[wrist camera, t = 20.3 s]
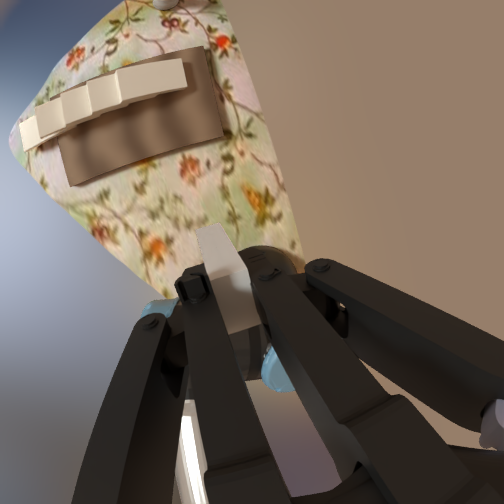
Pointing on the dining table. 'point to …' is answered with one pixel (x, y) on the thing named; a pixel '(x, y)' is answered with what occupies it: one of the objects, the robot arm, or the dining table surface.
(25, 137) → the domino
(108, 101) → the domino
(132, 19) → the dining table surface
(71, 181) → the walnut board
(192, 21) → the dining table surface
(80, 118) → the domino
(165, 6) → the rook chess piece
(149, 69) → the domino
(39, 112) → the domino
